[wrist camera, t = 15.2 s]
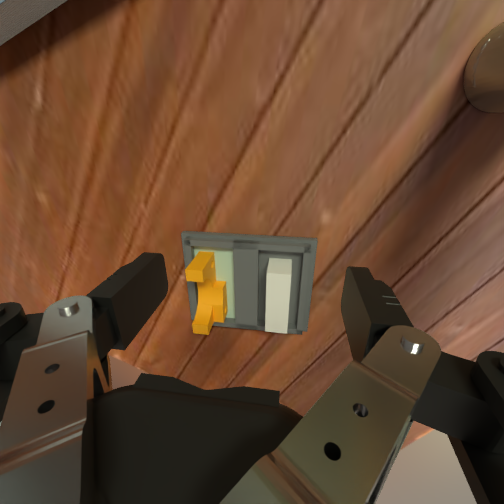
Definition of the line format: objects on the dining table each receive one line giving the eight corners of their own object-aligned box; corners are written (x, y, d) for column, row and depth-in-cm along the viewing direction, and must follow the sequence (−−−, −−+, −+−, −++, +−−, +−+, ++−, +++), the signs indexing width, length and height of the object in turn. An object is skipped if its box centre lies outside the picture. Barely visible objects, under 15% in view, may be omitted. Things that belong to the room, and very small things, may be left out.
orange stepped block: (227, 311, 49) (218, 335, 44) (205, 309, 50) (193, 333, 44) (224, 252, 44) (213, 271, 39) (199, 251, 45) (185, 269, 39)
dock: (316, 238, 42) (320, 254, 37) (306, 327, 50) (308, 352, 44) (183, 231, 45) (168, 245, 40) (193, 316, 53) (181, 338, 47)
